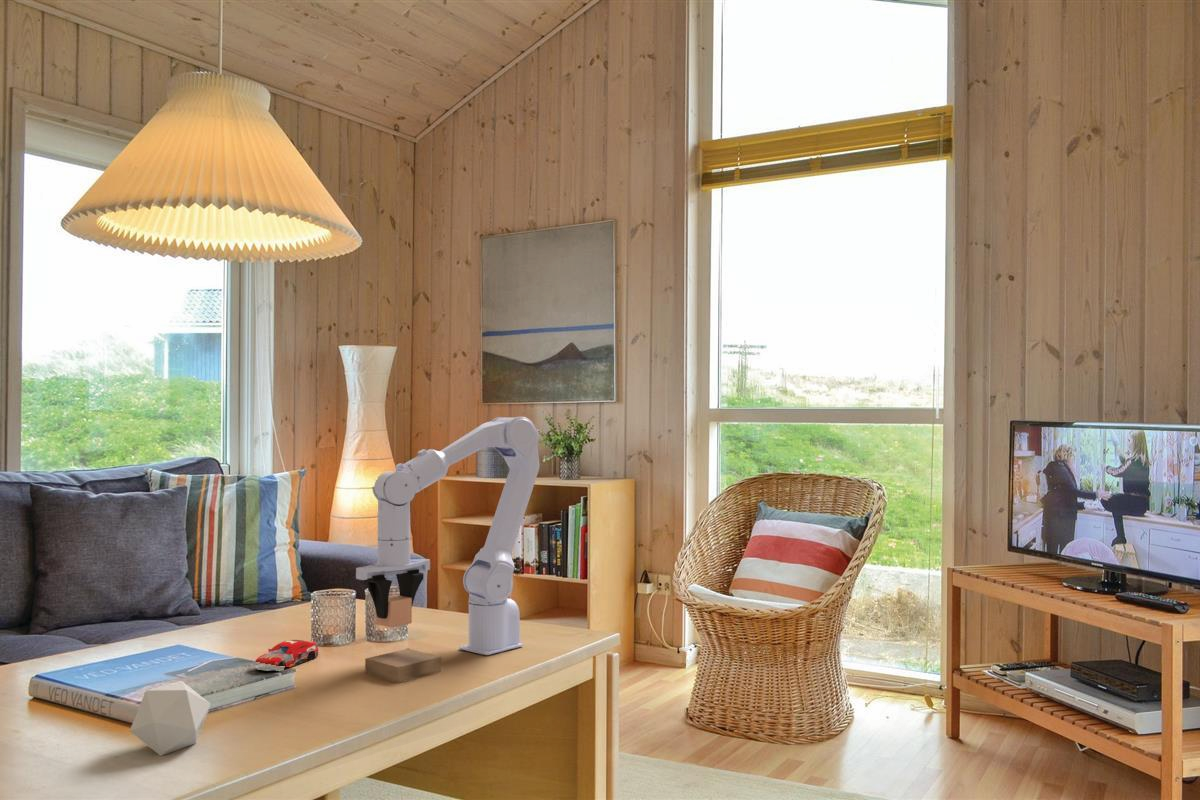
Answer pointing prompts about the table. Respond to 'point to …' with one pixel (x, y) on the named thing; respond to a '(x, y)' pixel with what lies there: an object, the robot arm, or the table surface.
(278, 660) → the race car
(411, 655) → the walnut block
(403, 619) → the terracotta cube
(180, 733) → the die
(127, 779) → the table surface
